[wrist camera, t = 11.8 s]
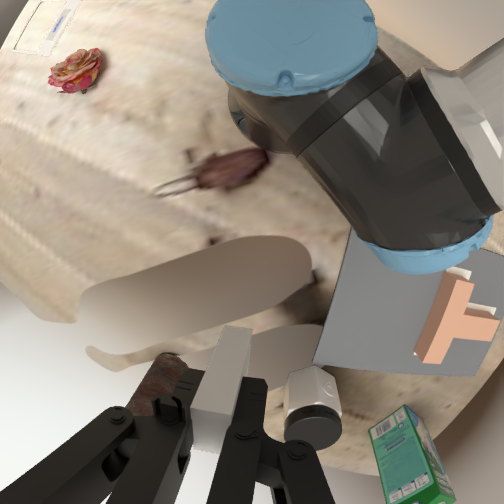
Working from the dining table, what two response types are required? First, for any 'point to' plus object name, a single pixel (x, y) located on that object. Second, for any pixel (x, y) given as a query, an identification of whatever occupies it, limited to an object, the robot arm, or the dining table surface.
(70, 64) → the flower
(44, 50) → the photo frame
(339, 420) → the jar
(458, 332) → the t block
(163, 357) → the candle
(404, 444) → the milk carton
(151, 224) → the dining table surface
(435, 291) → the mat
